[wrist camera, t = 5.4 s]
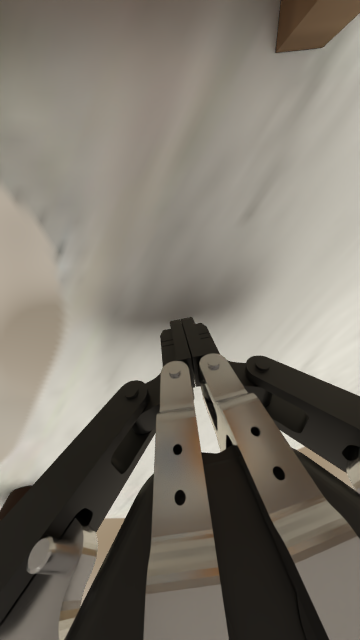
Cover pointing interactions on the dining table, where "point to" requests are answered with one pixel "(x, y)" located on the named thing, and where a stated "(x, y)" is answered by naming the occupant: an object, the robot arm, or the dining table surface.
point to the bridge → (312, 22)
